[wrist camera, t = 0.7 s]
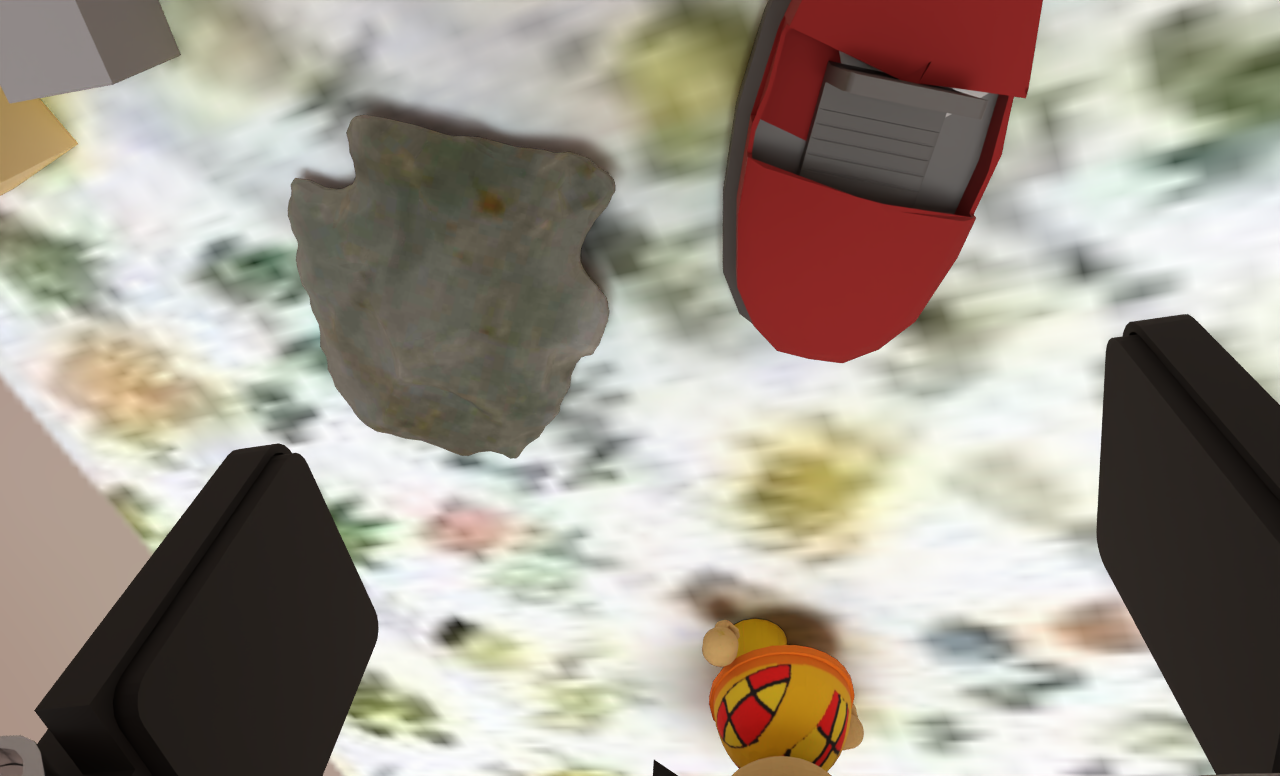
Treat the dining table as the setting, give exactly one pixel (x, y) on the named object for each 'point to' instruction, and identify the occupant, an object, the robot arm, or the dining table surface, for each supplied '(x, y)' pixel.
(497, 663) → the dining table surface
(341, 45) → the dining table surface
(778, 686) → the toy
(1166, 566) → the robot arm
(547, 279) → the artifact
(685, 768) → the dining table surface
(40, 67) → the charcoal brick
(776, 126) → the bumper car
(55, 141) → the ochre brick
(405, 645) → the dining table surface
